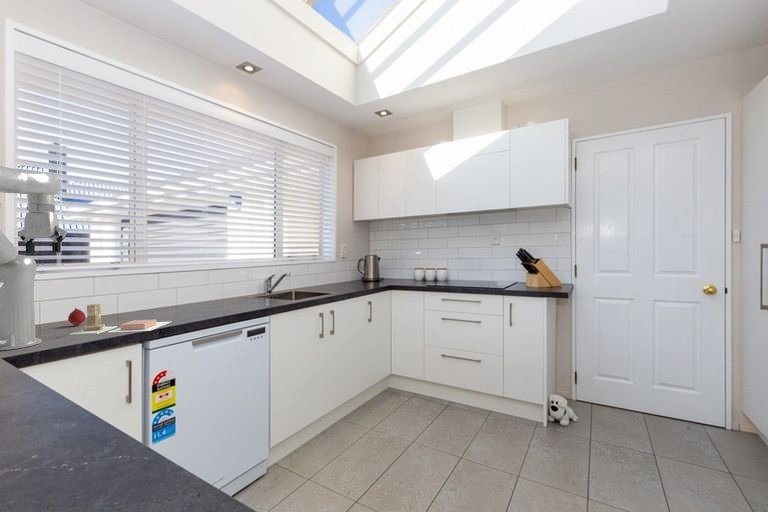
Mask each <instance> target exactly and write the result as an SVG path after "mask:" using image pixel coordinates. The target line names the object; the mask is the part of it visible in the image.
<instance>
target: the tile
mask: <svg viewBox="0 0 768 512" xmlns="http://www.w3.org/2000/svg"><path fill="white" fill-rule="evenodd" d="M157 322H158V321H157V319H135V320H134V319H133V320H131V321H127V322H125V323H122V324H120V328H121V330H139V329H146V328H149V327H151V326H154V325H156V324H157Z"/></svg>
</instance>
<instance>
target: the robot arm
mask: <svg viewBox="0 0 768 512" xmlns="http://www.w3.org/2000/svg"><path fill="white" fill-rule="evenodd" d="M60 190H61V182H60V179H58V177H57V176H55V175H53V174H52V173H51V174H50V173H46V172H45V173H44V172H39V171H38V172H37V171H31V170H25V169H21V168H20V169H18V168H12V167H11V168H10V167H6V166H0V193H4V194H6V193H7V194H20V195H27V205H28V206H27V207H25V209H26V211H28V212H26V213H25V216H24V220H23V221H24V223H23V229H22V230H19V231H18V232H17V234H18V235H19V237H20V240H21V241H22V242H23V243H24V244H25V253H26V254H35V253H36V250H35V247H36V246H35V242H34V241H35V240H36V239H50V240H52V241H53V242H52V243H51V250H52V253H62V251H61V250H62V245H61V243H62V242H63V240H64V239H65V238H66V236H67V234H68V231H67V230H65V229H63V228H60V224H59V223H60V222H59V219H58V215H57V213H55V212H56V211H55V195H57V194H59V192H60ZM0 207H1V204H0ZM36 262H37V261H36V260H35V259H34V258H33V257H31V256H28V255H25V254H18V253H17V248H16V247H15V246H14V244H13V243H12V242H11V240H9V238H8V236H6V235H5V233H4V232H3V231H2V230H1V229H0V284H2V285H1V286H0V351H8V350H10V351H11V350H17V349H22V348H28V347H32V346H36V345H39V344H42V341H43V339H42V338H40V337H36V321H35V320H36V319H35V316H36V315H35V296H34V295H35V294H34V293H35V292H34V291H35V290H34V287H35V277H36V273H37V263H36Z"/></svg>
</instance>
